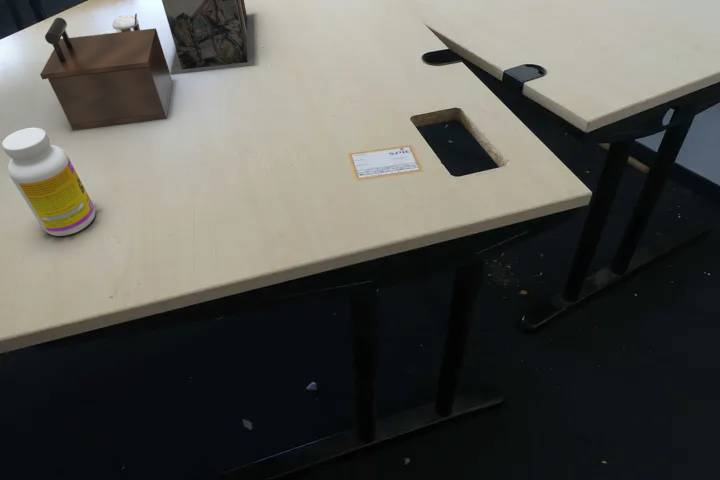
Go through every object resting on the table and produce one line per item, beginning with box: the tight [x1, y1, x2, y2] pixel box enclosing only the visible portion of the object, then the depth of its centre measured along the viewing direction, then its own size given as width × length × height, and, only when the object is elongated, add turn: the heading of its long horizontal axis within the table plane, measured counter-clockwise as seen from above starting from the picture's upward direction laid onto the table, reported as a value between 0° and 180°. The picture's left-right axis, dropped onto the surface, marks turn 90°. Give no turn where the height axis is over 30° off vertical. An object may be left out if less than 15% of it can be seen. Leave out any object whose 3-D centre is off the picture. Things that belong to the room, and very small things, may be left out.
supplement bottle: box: [1, 127, 96, 237], centre depth 66 cm, size 7×7×13 cm
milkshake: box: [112, 13, 141, 33], centre depth 99 cm, size 4×5×10 cm
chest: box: [47, 33, 174, 131], centre depth 89 cm, size 15×13×9 cm
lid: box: [39, 17, 158, 80], centre depth 84 cm, size 16×13×5 cm
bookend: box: [161, 0, 256, 75], centre depth 103 cm, size 16×25×16 cm, turn 9°
